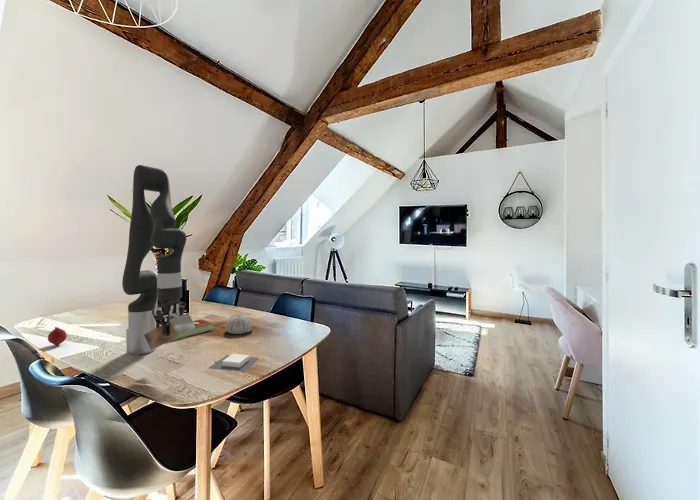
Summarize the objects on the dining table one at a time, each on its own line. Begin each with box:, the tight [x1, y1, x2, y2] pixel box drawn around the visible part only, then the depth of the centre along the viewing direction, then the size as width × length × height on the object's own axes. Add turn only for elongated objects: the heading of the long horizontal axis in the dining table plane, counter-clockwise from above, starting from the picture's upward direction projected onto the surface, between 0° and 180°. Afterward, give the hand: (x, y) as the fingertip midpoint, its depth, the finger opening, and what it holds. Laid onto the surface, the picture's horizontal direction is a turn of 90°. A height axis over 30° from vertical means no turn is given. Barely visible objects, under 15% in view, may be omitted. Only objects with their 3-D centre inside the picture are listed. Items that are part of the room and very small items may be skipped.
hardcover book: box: [171, 318, 214, 341], centre depth 148 cm, size 12×21×4 cm, turn 146°
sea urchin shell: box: [224, 314, 254, 335], centre depth 151 cm, size 13×14×8 cm
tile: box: [222, 353, 251, 367], centre depth 113 cm, size 2×7×7 cm
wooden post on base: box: [144, 312, 196, 350], centre depth 106 cm, size 15×8×6 cm, turn 79°
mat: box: [208, 354, 260, 373], centre depth 113 cm, size 14×12×1 cm
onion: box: [47, 326, 68, 346], centre depth 129 cm, size 6×6×8 cm
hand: (170, 333), depth 106 cm, fingers closed on wooden post on base, 3 cm apart
